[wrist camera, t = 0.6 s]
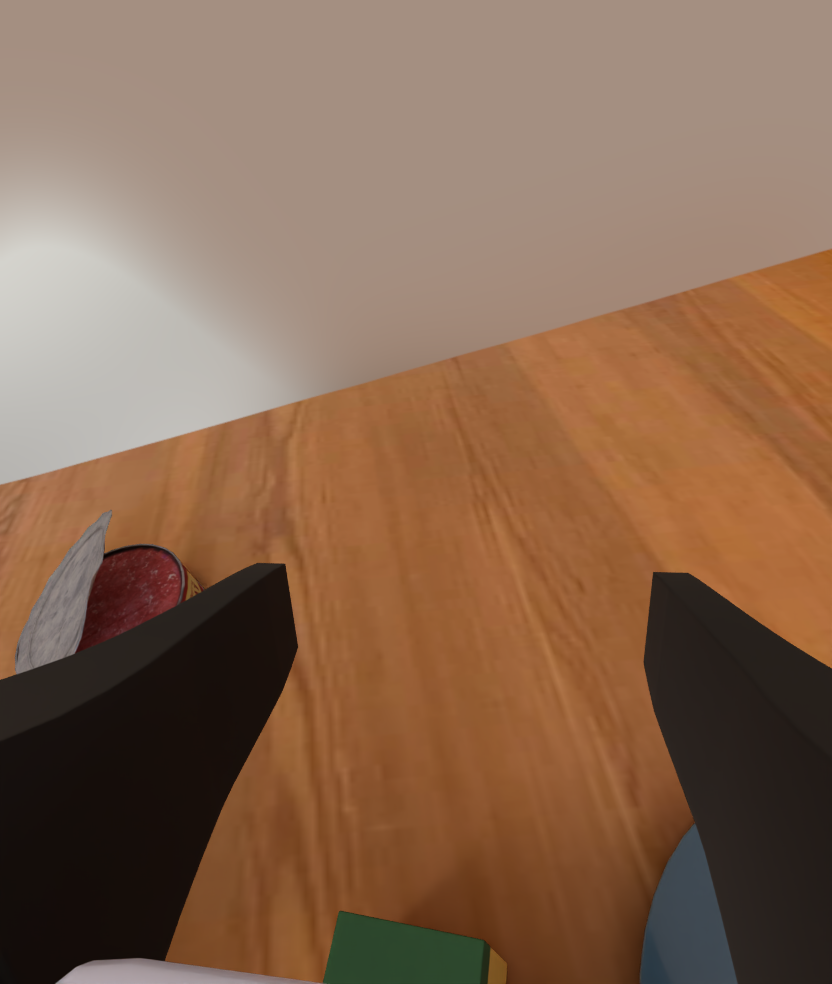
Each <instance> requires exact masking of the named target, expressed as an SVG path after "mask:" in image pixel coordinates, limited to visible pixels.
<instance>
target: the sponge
mask: <svg viewBox="0 0 832 984" xmlns="http://www.w3.org/2000/svg"><path fill="white" fill-rule="evenodd" d="M506 977H507V963H506V962H505V961H504V960H503V959H502V958H501V957H500V956H499V955H498V954H497V953H496V952H495V951H494V950H493V949H492V948H491V947H490V946H489V945H488V944H487V943H486V942H485V941H484V940H482V939H477V938H472V937H467V936H462V935H457V934H452V933H448V932H443V931H438V930H433V929H428V928H423V927H418V926H413V925H408V924H403V923H398V922H393V921H389V920H384V919H379V918H374V917H369V916H364V915H359V914H354V913H349V912H344V911H339V914H338V918H337V923H336V927H335V932H334V936H333V940H332V945H331V949H330V954H329V958H328V962H327V967H326V971H325V976H324V980H323V983H325V984H506Z"/></svg>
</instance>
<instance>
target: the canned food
mask: <svg viewBox="0 0 832 984" xmlns="http://www.w3.org/2000/svg"><path fill="white" fill-rule="evenodd" d="M111 516H112V510H110V511H108V512H105V513H103V514H102V515H101V516H100V518H99V519H98V520H97V521H96V522H95V523H93V524H92V525H91V526H89V527H88V528H87V530H86V531H85V532H84V534H83V535H82V537H81V538H80V539H79V540H78V541H77V542H76V543H75V544H74V545H73V546H72V547H71V548H70V549H69V551H68V552H67V554H66V556H65V557H64V559H63V560H62V562H61V564H60V565H59V566H58V568H57V569H56V570H55V571H54V573H53V574H52V575H51V577H50V578H49V580H48V582H47V584H46V586H45V588H44V590H43V592H42V594H41V596H40V597H39V599H38V600H37V602H36V604H35V605H34V607H33V608H32V610H31V613H30V616H29V620H28V621H27V623H26V625H25V627H24V628H23V631H22V633H21V636H20V638H19V641H18V644H17V649H16V654H15V671H16V674H19V673H22V672H25V671H28V670H31V669H34V668H36V667H39V666H42V665H45V664H48V663H51V662H54V661H56V660H59V659H62V658H65V657H67V656H70V655H72V654H75V653H77V652H80V651H82V650H85V649H87V648H89V647H92V646H94V645H97V644H99V643H101V642H104V641H106V640H108V639H110V638H113V637H115V636H117V635H119V634H121V633H123V632H126V631H128V630H130V629H132V628H134V627H136V626H138V625H140V624H142V623H143V622H145V621H147V620H149V619H151V618H153V617H155V616H157V615H159V614H161V613H163V612H165V611H167V610H169V609H171V608H173V607H175V606H177V605H178V604H180V603H182V602H184V601H186V600H188V599H189V598H191V597H193V596H195V595H197V594H198V593H200V592H202V591H204V588H203V587H202V586H201V585H200V583H199V582H198V581H197V580H195V578H194V577H193V576H192V575H191V574H190V573H189V571H188V570H187V569H186V568H185V567H184V566H183V564H182V563H181V562H180V560H179V559H178V558H177V557H176V555H175V554H174V553H173V552H171V551H169V550H168V549H166V548H164V547H161V546H157V545H153V544H136V545H129V546H124V547H121V548H117V549H114V550H111V551H109V552H107V553H104V550H105V534H106V531H107V528H108V525H109V522H110V519H111Z"/></svg>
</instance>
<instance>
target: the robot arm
mask: <svg viewBox="0 0 832 984" xmlns="http://www.w3.org/2000/svg"><path fill="white" fill-rule="evenodd" d="M297 649H298V644H297V637H296V631H295V624H294V618H293V611H292V605H291V598H290V592H289V585H288V579H287V572H286V566H285V564H274V563H256V564H254V565H251V566H249V567H247V568H245V569H243V570H241V571H239V572H237V573H235V574H233V575H231V576H229V577H227V578H225V579H224V580H222V581H220V582H218V583H216V584H215V585H213V586H211V587H209V588H207V589H206V590H204V591H202V592H200V593H198V594H197V595H195V596H193V597H191V598H189V599H188V600H186V601H184V602H182V603H180V604H178V605H177V606H175V607H173V608H171V609H169V610H167V611H165V612H163V613H161V614H159V615H157V616H155V617H153V618H151V619H149V620H147V621H145V622H143V623H142V624H140V625H138V626H136V627H134V628H132V629H130V630H128V631H126V632H123V633H121V634H119V635H117V636H115V637H113V638H110V639H108V640H106V641H104V642H101V643H99V644H97V645H94V646H92V647H89V648H87V649H85V650H82V651H80V652H77V653H75V654H72V655H70V656H67V657H65V658H62V659H59V660H56V661H54V662H51V663H48V664H45V665H42V666H39V667H36V668H34V669H31V670H28V671H25V672H22V673H19V674H16V675H13V676H11V677H8V678H5V679H2V680H0V984H325V983H317V982H310V981H303V980H296V979H288V978H281V977H274V976H267V975H259V974H252V973H245V972H238V971H230V970H223V969H216V968H209V967H201V966H194V965H187V964H180V963H172V962H165V958H166V955H167V953H168V950H169V947H170V944H171V941H172V938H173V935H174V932H175V929H176V926H177V924H178V921H179V918H180V915H181V912H182V910H183V907H184V904H185V902H186V899H187V896H188V894H189V891H190V888H191V886H192V883H193V880H194V878H195V875H196V872H197V870H198V867H199V864H200V862H201V859H202V857H203V854H204V852H205V849H206V847H207V844H208V842H209V839H210V837H211V834H212V832H213V829H214V827H215V824H216V822H217V819H218V817H219V815H220V812H221V810H222V807H223V805H224V803H225V801H226V799H227V797H228V795H229V793H230V791H231V788H232V786H233V784H234V782H235V781H236V779H237V777H238V775H239V773H240V771H241V769H242V767H243V765H244V764H245V762H246V760H247V758H248V756H249V754H250V752H251V750H252V748H253V747H254V745H255V743H256V741H257V739H258V737H259V735H260V733H261V731H262V730H263V728H264V726H265V724H266V722H267V720H268V718H269V716H270V714H271V712H272V710H273V708H274V706H275V705H276V703H277V701H278V699H279V697H280V695H281V693H282V691H283V688H284V686H285V683H286V680H287V678H288V675H289V672H290V670H291V667H292V664H293V661H294V658H295V655H296V652H297ZM644 667H645V672H646V677H647V682H648V687H649V691H650V695H651V700H652V704H653V708H654V712H655V715H656V718H657V721H658V723H659V726H660V729H661V732H662V735H663V737H664V740H665V743H666V746H667V748H668V751H669V754H670V756H671V759H672V762H673V765H674V767H675V770H676V773H677V775H678V778H679V781H680V783H681V786H682V789H683V792H684V794H685V797H686V800H687V802H688V805H689V808H690V810H691V813H692V816H693V819H694V821H695V824H696V827H697V830H698V833H699V836H700V839H701V842H702V845H703V849H704V852H705V855H706V859H707V863H708V867H709V871H710V874H711V878H712V882H713V886H714V890H715V894H716V898H717V901H718V905H719V909H720V913H721V917H722V921H723V925H724V929H725V933H726V938H727V942H728V946H729V950H730V954H731V958H732V962H733V966H734V971H735V975H736V979H737V983H738V984H832V668H830V667H828V666H826V665H825V664H823V663H821V662H820V661H818V660H817V659H815V658H813V657H812V656H810V655H808V654H807V653H805V652H804V651H802V650H800V649H799V648H797V647H796V646H794V645H792V644H791V643H789V642H788V641H786V640H785V639H783V638H782V637H780V636H778V635H777V634H775V633H774V632H772V631H771V630H769V629H768V628H767V627H765V626H764V625H762V624H761V623H759V622H758V621H756V620H755V619H753V618H752V617H751V616H749V615H748V614H746V613H745V612H744V611H742V610H741V609H739V608H738V607H736V606H735V605H734V604H732V603H731V602H730V601H728V600H727V599H725V598H724V597H723V596H721V595H720V594H718V593H717V592H716V591H714V590H713V589H711V588H710V587H709V586H707V585H706V584H704V583H703V582H702V581H700V580H699V579H697V578H696V577H694V576H692V575H691V574H689V573H668V572H653V579H652V588H651V598H650V607H649V616H648V626H647V635H646V645H645V654H644Z"/></svg>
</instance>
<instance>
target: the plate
mask: <svg viewBox="0 0 832 984" xmlns="http://www.w3.org/2000/svg"><path fill="white" fill-rule="evenodd" d="M639 984H738V983H737V979H736V975H735V971H734V966H733V962H732V958H731V954H730V950H729V946H728V942H727V938H726V933H725V929H724V925H723V921H722V917H721V913H720V909H719V905H718V901H717V898H716V894H715V890H714V886H713V882H712V878H711V874H710V871H709V867H708V863H707V859H706V855H705V852H704V849H703V845H702V842H701V839H700V836H699V833H698V830H697V827H696V824H695V823H694V824H693V825H692V826H691V828H690V829H689V830H688V831H687V832H686V833H685V835H684V836H683V837H682V839H681V841H680V842H679V844H678V845H677V847H676V849H675V850H674V852H673V854H672V855H671V857H670V859H669V860H668V862H667V864H666V866H665V869H664V871H663V874H662V876H661V878H660V881H659V883H658V886H657V888H656V891H655V893H654V896H653V900H652V904H651V908H650V912H649V915H648V919H647V923H646V927H645V931H644V938H643V947H642V955H641V963H640V972H639Z"/></svg>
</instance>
